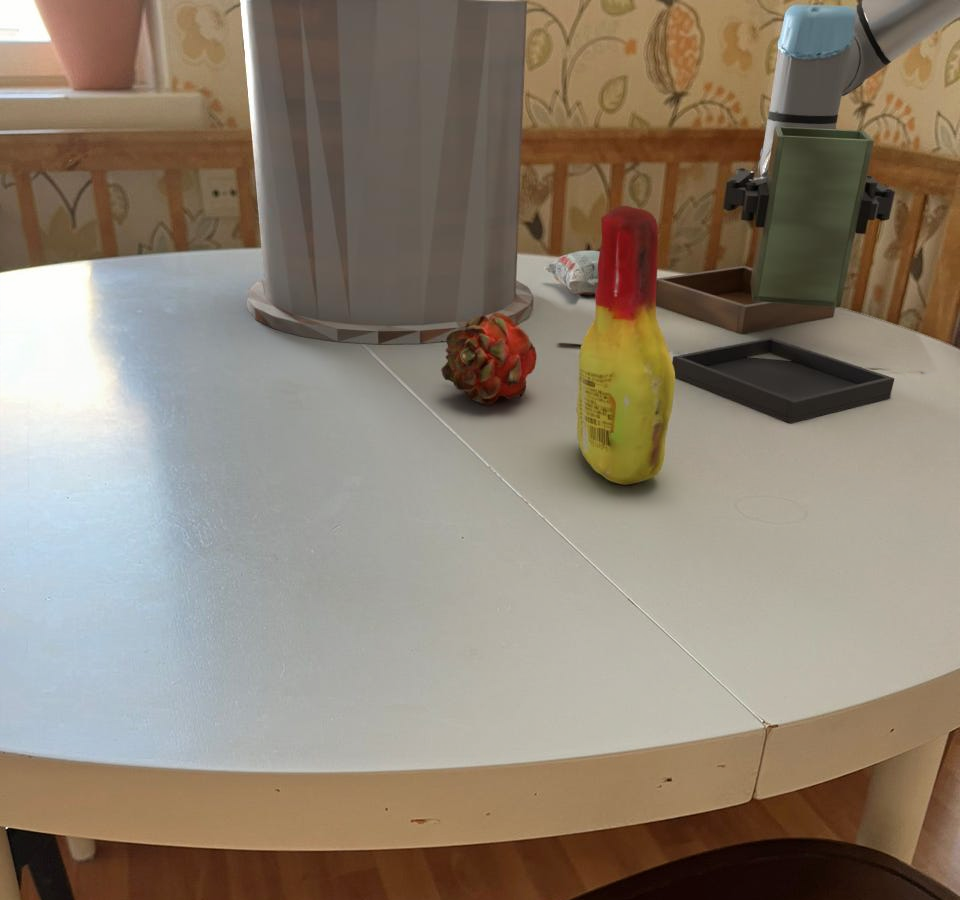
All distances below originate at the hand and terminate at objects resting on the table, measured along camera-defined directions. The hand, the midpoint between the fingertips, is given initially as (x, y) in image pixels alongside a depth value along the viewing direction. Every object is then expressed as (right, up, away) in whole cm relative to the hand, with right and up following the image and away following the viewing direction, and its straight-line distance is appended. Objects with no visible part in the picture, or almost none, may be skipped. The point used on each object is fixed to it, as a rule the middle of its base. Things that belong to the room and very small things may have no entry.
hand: (812, 214), depth 92 cm
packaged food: (-16, +8, +45) cm, 48 cm away
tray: (+1, -12, +13) cm, 18 cm away
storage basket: (-40, +4, +37) cm, 55 cm away
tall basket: (+1, -4, +8) cm, 9 cm away
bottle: (-18, -23, -6) cm, 30 cm away
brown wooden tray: (+3, +2, +37) cm, 37 cm away
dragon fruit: (-29, -14, +9) cm, 33 cm away
